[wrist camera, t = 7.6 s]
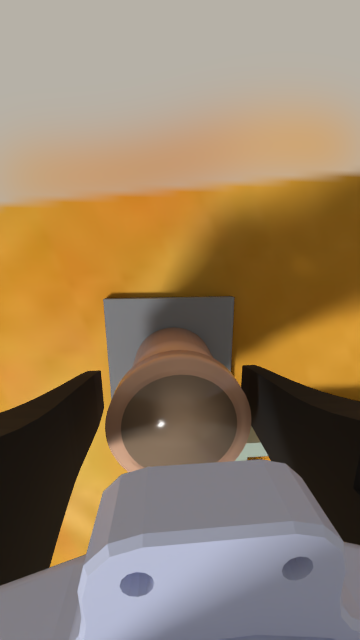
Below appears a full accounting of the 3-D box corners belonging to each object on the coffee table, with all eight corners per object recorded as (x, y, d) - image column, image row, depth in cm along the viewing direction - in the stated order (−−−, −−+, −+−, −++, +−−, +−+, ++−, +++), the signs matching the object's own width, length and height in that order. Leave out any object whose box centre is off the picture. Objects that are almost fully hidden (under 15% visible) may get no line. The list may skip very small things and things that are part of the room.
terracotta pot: (232, 341, 15) (277, 392, 9) (194, 414, 16) (212, 502, 10) (149, 306, 14) (139, 336, 8) (115, 386, 15) (83, 464, 9)
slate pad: (231, 296, 15) (234, 297, 14) (226, 406, 16) (228, 411, 16) (105, 298, 14) (103, 299, 14) (114, 412, 16) (113, 416, 15)
